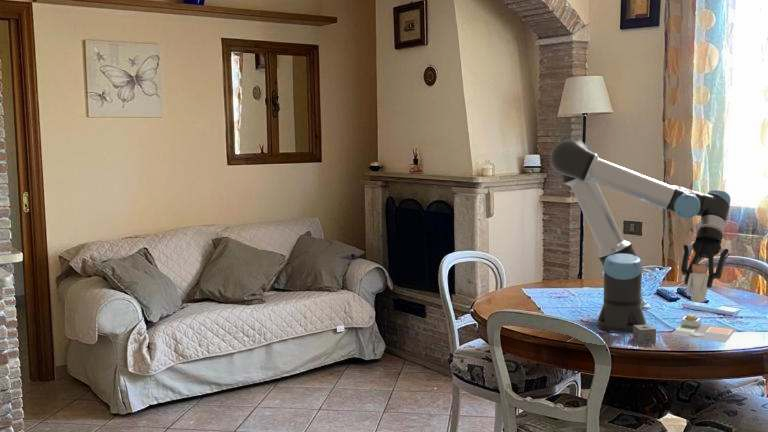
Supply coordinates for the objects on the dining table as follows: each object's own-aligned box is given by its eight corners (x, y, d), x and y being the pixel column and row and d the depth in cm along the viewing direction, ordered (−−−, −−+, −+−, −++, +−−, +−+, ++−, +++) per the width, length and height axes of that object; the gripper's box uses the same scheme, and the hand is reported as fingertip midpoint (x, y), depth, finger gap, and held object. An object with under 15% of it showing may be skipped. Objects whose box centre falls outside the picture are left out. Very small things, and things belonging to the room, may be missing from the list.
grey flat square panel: (670, 336, 236) (670, 334, 236) (683, 323, 250) (683, 321, 250) (725, 345, 227) (725, 342, 227) (736, 330, 241) (736, 328, 241)
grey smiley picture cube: (639, 345, 228) (639, 329, 227) (632, 340, 233) (633, 325, 232) (655, 345, 229) (656, 329, 228) (648, 340, 233) (649, 324, 233)
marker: (689, 301, 233) (690, 265, 231) (692, 298, 236) (694, 263, 235) (703, 302, 230) (705, 267, 229) (706, 299, 234) (708, 265, 232)
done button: (685, 322, 245) (685, 316, 244) (687, 320, 247) (687, 314, 247) (694, 323, 243) (694, 317, 243) (696, 321, 245) (696, 315, 245)
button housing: (681, 326, 245) (681, 319, 244) (684, 322, 248) (685, 316, 248) (696, 328, 242) (697, 321, 242) (700, 324, 246) (700, 318, 245)
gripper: (740, 242, 239) (726, 304, 228) (684, 237, 248) (668, 297, 237) (738, 227, 234) (724, 291, 222) (680, 223, 243) (664, 283, 232)
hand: (695, 294), depth 230 cm, fingers closed on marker, 4 cm apart
